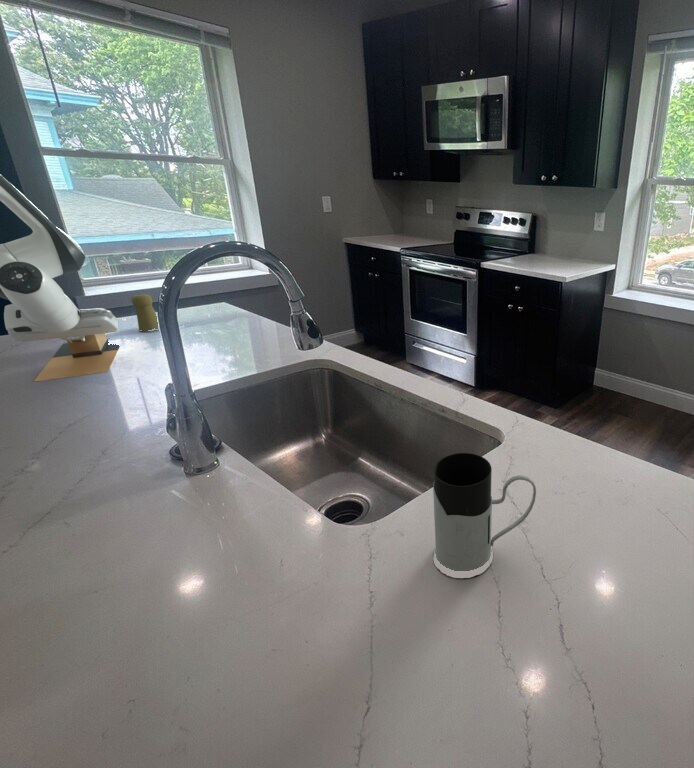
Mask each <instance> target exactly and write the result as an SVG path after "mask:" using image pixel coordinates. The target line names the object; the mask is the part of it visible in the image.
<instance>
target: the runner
mask: <svg viewBox="0 0 694 768" xmlns="http://www.w3.org/2000/svg"><path fill="white" fill-rule="evenodd" d="M120 348H121V345H120V346H119V345H116V344H115V345H114V344H113V345H112V344H110V345H107V347H106V348H105V350H104V352H103V354H101V355H93V356H84V357H76V358H73V356H72V353H71V350H70V347H69V345H68V342H65V343H62V344H61V345H60V347H59V348H58V349H57V351H56V352H55V354H53V356H52V357H51V359H50V360H49V361H48V362H47V363H46V365H44V367H43V369H42V370H41V371H40V372H39V374H38V375H37V376H36V377H35V378H34V380H33V381H32V382H33V383H35V382H42V381H43V382H45V381H52V380H57V379H59V380H60V379H67V378H73V377H80V376H88V375H96V374H102V373H103V374H104V373H108V372H109V370H110V368H111V366H112V364H113V363H114V360H115V359H116V356H117V353H118V351H119V349H120Z"/></svg>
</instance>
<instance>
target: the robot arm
mask: <svg viewBox="0 0 694 768" xmlns="http://www.w3.org/2000/svg"><path fill="white" fill-rule="evenodd" d="M0 202H1V203H3V205H5V206H6V208H7V209H9V211H11V212H12V213H14V214H15V215H16V216H17V218H19V219H20V220H21V221H22V222H24V223H25V225H27V226H28V227H29V228H30V229H31V230H32V233H30V234H29V235H25V236H23V237H20V238H17V239H14V240H11V241H7V242H5V243H0V298H1V299H4V300H7V301H9V302H10V304H7V305H5V306H4V310H3V311H4V312H3V320H4V327H5V329H6V331H7V334H8V335H9V337H11V339H12V340H13V341H15V342H20V343H26V342H35V341H45V340H46V341H47V340H55V339H60V340H65V341H67V340H68V341H69V342H70V343H73V342H82V341H85V335H94V334H103V333H105V334H112V333H116V332H118V331H119V329H120V325H119V321H118V318H117V317H116V316H115V314H114V313H113V312H112V311H111V310H109V309H106V308H103V307H102V308H101V307H96V308H95V307H94V308H93V307H92V308H84V309H79V308H78V307H77V306H76V304H75V303H74V302H73V300H72V299H70V297H68V295H66V294H65V292H64V290H63V289H62V287H61V286H60V285H59V284H58V283H57V282H56V281H55V280H54V279H55V278H57V277H60V276H62V275H68V274H72V273H75V272H79V271H81V269H82V268H83V265H84V263H85V260H86V254H85V252H84V251H83V249H82V247H81V246H80V245H79V243H78V242H77V241H76V240H74V238H72V237H71V236H70V235H68V234H67V233H66V232H64V231H63V230H62V229H60V228H59V227H58V226H57V225H55V224H54V223H53V222H52V221H51V220H50V219H49V218H48V217H47V216H46V215H45V213H43V211H41V210H40V209H38V207H37V206H36V205H34V204H33V202H32V201H30V200H29V199H28V198H27V197H26V196H25V195H24V194H23V193H22V192H21V191H20V190H19V189H17V188H16V187H15V186H14V185H13V184H12V183H11V182H9V181H8V180H7V179H6V178H5V177H4V176H3V175H2V174H1V173H0Z"/></svg>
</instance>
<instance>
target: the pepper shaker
mask: <svg viewBox="0 0 694 768" xmlns="http://www.w3.org/2000/svg"><path fill="white" fill-rule="evenodd" d="M131 304H132V305H133V306H134V307H135V313H136V319H137V325H138V331H139V330H142V331H148V330H152V329H154V328H155V329H158V322H157V317H158V315H157V312H156V311H155V309H154V306H153V304H154V300H153V298H152V296H151V295H150V294H145V293H144V294H143V293H142V294H135V295H133V296H132V297H131ZM156 315H157V316H156Z"/></svg>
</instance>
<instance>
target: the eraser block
mask: <svg viewBox="0 0 694 768" xmlns="http://www.w3.org/2000/svg"><path fill="white" fill-rule="evenodd" d="M108 339H109V338H107V335H106V333H103V334H94V335H85V341H82V342H73V343H70V342H69V341H68V340H66V343H68V345H69V347H70V350H71V353H72V356H73V358H76V357H84V356H93V355H101V354H103V352H104V350H105V348H106V347H107V345H108V343H109V342H108Z"/></svg>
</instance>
